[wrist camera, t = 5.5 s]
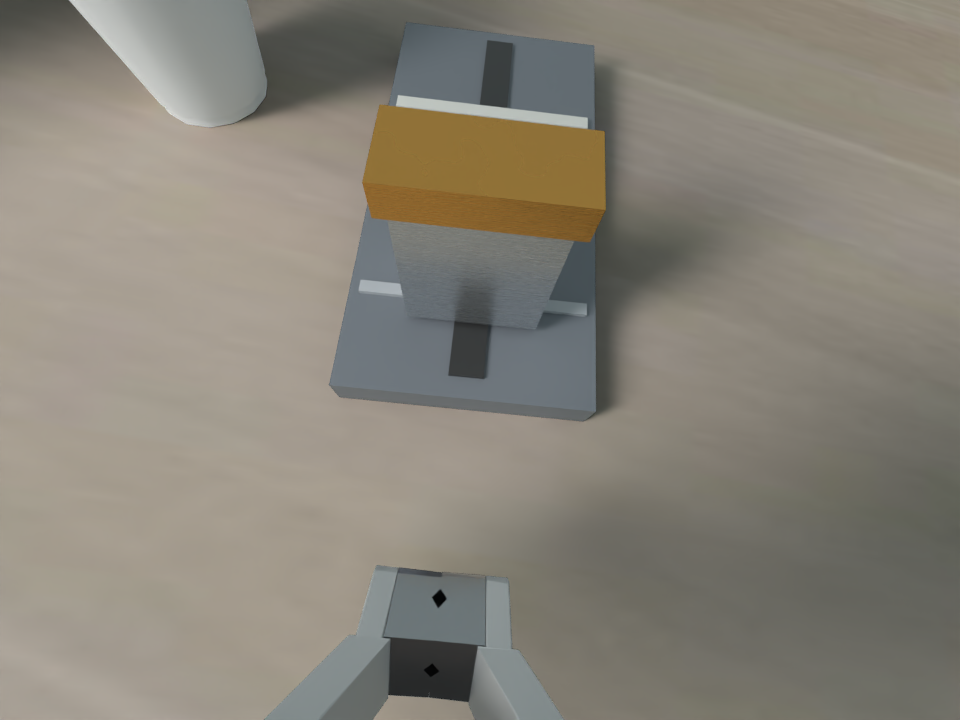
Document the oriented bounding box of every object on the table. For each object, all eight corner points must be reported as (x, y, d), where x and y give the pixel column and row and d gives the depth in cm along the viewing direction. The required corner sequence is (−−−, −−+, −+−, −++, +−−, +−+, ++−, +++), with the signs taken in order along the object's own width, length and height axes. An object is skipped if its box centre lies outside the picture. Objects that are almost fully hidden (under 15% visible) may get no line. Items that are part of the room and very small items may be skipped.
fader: (545, 330, 21) (605, 209, 13) (396, 315, 21) (362, 181, 13) (548, 275, 22) (604, 131, 14) (405, 259, 22) (379, 104, 14)
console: (583, 421, 22) (598, 410, 20) (339, 397, 22) (327, 383, 20) (585, 74, 31) (595, 40, 28) (408, 53, 30) (405, 17, 28)
